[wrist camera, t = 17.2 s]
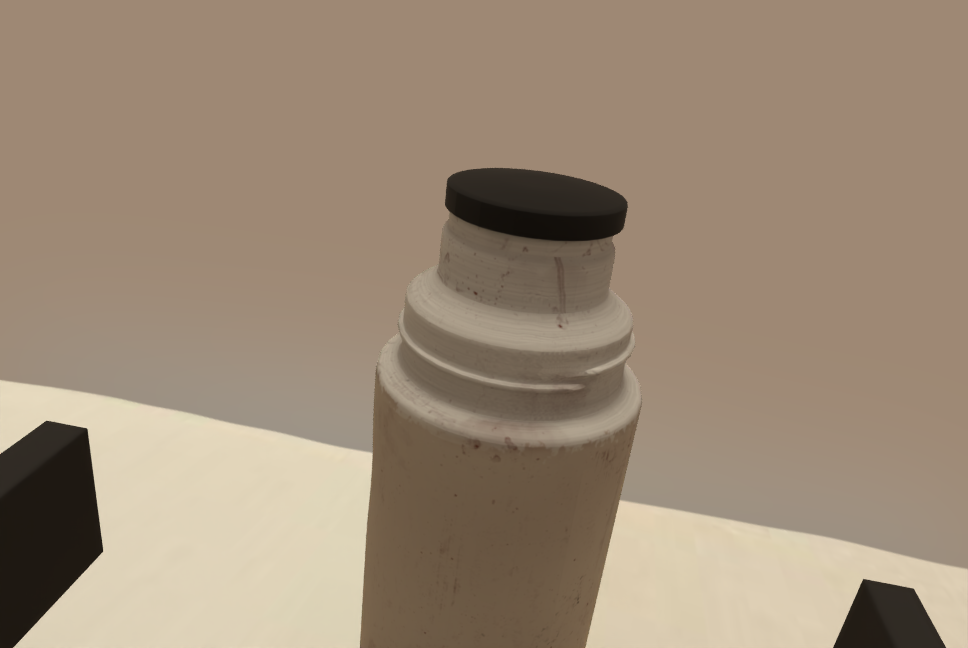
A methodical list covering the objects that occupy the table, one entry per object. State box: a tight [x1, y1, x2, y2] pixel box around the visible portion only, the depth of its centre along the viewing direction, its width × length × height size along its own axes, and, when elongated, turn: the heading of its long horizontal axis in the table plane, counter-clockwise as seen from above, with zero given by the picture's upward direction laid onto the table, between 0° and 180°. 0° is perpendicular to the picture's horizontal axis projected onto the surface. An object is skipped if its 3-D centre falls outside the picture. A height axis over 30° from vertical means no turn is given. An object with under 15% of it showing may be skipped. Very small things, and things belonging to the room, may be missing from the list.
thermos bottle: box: [360, 168, 642, 648], centre depth 25 cm, size 8×8×28 cm
